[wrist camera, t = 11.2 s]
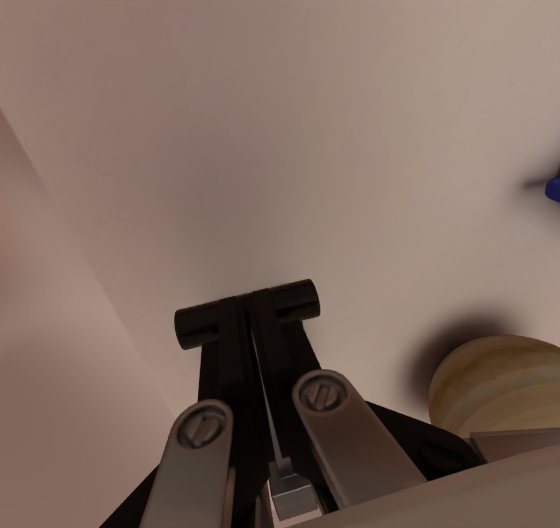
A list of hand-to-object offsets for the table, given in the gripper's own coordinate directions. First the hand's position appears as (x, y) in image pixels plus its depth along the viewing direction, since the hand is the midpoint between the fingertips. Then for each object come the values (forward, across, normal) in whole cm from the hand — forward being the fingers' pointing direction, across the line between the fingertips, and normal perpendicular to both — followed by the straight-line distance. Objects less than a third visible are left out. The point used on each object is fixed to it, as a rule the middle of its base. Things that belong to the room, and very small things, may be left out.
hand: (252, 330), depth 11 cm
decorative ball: (+15, -22, +22) cm, 34 cm away
